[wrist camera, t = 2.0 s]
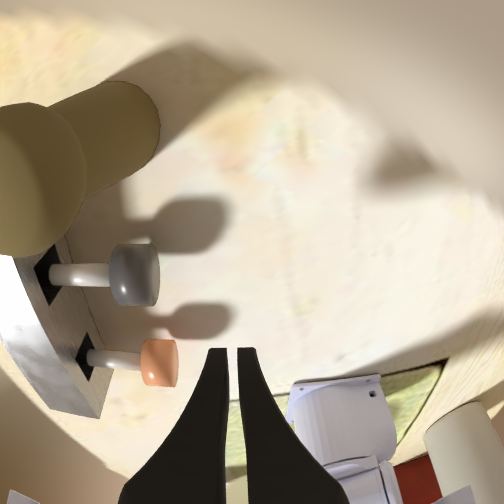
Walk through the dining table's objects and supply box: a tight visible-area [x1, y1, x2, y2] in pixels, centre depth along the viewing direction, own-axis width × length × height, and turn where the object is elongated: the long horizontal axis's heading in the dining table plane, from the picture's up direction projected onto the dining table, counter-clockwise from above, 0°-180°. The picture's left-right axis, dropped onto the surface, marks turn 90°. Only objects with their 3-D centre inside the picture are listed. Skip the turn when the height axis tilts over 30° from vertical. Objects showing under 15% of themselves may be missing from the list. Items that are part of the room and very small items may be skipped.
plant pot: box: [393, 455, 443, 504], centre depth 45 cm, size 19×19×17 cm
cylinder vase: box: [423, 401, 504, 504], centre depth 29 cm, size 12×12×25 cm
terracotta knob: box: [87, 339, 178, 387], centre depth 21 cm, size 7×4×4 cm, turn 90°
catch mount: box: [0, 234, 114, 419], centre depth 19 cm, size 6×18×6 cm, turn 0°
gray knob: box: [49, 244, 160, 306], centre depth 17 cm, size 7×4×4 cm, turn 90°
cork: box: [0, 81, 160, 258], centre depth 11 cm, size 6×6×11 cm
